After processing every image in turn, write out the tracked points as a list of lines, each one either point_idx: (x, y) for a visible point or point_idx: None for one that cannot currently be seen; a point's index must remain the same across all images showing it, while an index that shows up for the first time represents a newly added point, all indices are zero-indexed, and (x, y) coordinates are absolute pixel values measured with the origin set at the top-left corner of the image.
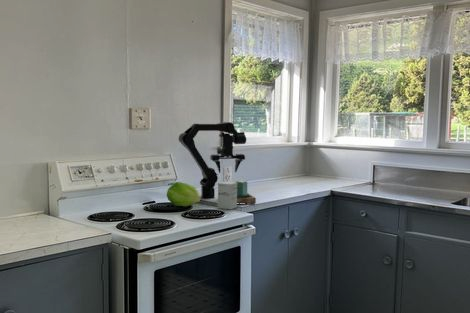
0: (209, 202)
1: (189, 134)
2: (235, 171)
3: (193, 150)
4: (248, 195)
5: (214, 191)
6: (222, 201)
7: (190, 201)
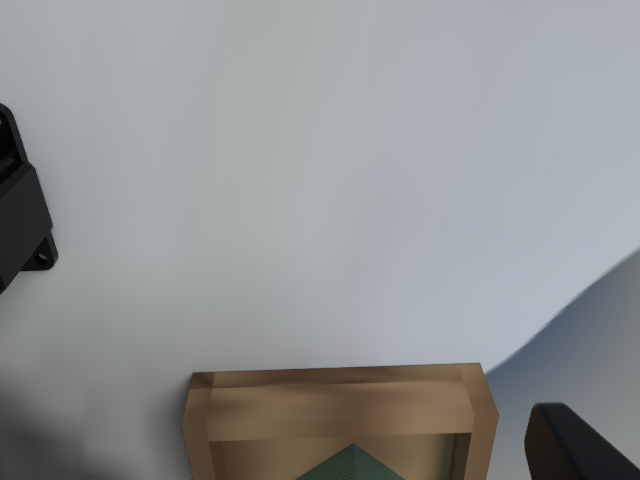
0: (13, 440)
1: None
2: (531, 472)
3: None
4: (462, 463)
5: (23, 264)
6: None
7: None
